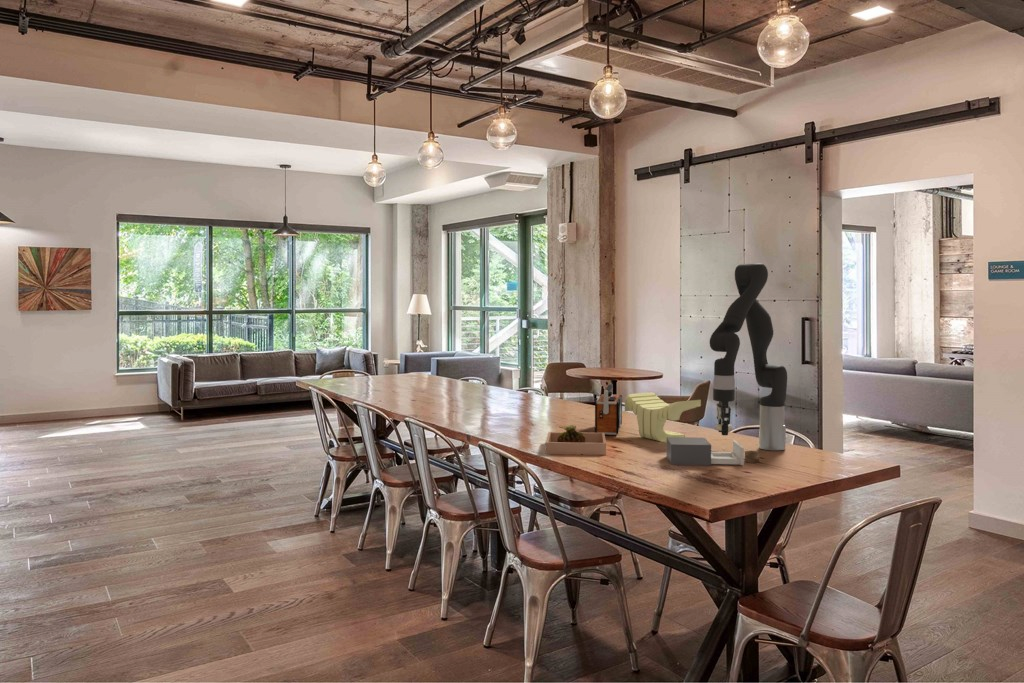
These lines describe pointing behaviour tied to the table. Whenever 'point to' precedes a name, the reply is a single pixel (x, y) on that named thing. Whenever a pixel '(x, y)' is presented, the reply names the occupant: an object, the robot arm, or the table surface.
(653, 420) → the slatted curved stool
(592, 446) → the planter frame
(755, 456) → the pedestal
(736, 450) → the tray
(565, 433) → the cactus
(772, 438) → the robot arm
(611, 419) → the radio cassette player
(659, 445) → the table surface
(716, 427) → the cream domed part
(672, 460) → the housing
